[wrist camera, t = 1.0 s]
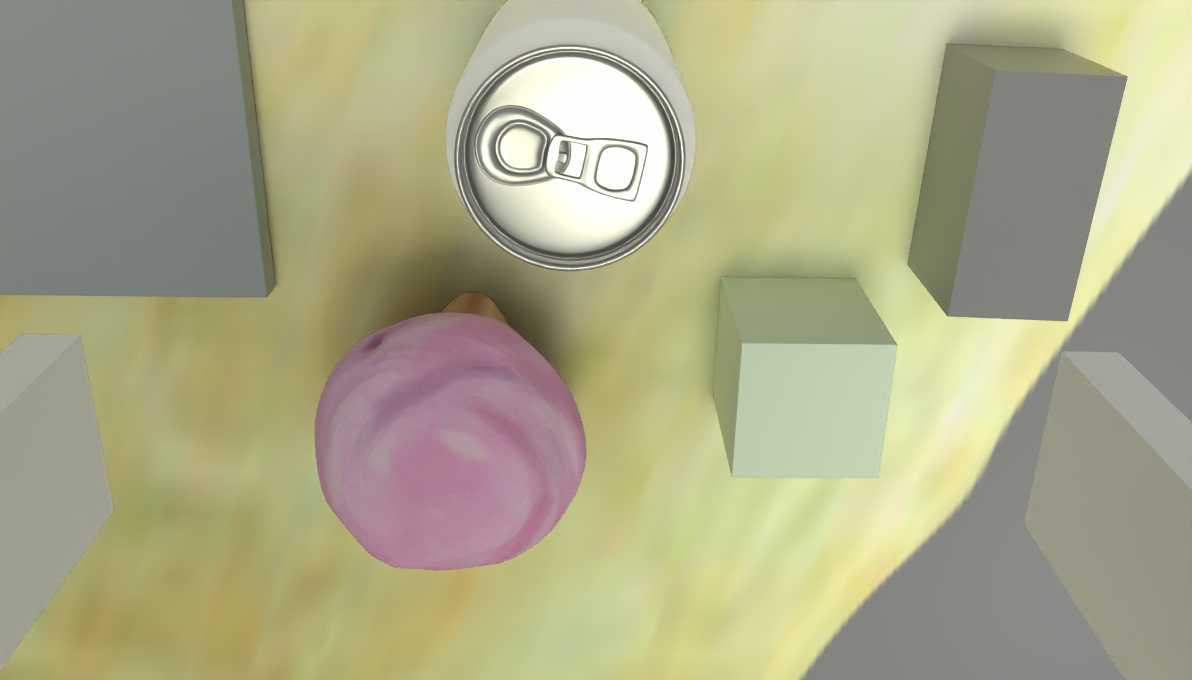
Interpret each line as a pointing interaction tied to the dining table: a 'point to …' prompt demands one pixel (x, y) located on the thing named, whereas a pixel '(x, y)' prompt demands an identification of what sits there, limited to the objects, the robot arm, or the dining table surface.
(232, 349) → the dining table surface
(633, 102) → the can
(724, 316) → the sage block
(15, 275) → the board
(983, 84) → the charcoal block
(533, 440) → the cupcake
